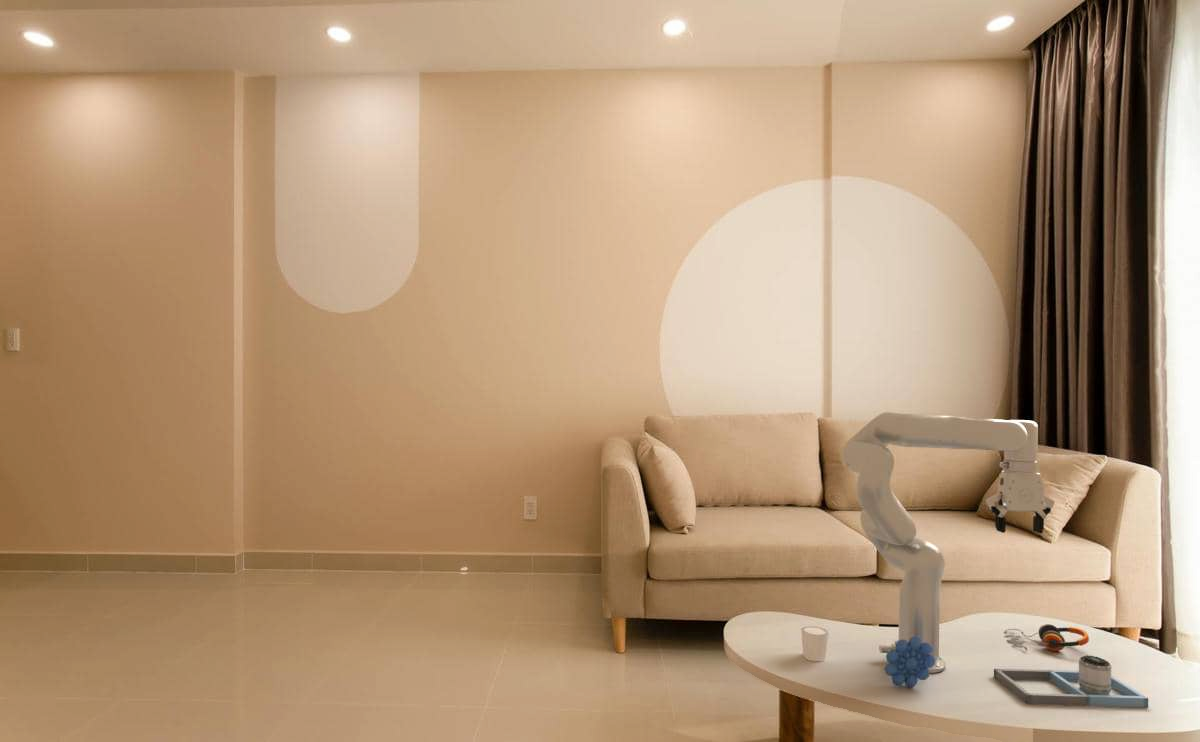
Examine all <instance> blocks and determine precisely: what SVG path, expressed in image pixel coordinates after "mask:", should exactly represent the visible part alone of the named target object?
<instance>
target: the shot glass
mask: <svg viewBox="0 0 1200 742" xmlns="http://www.w3.org/2000/svg"><path fill="white" fill-rule="evenodd" d="M800 630H801V631H800V633H801V642H802V643H801V644H802V654H803V655H802V656H804V657H805V658H806V659H805V658H804V657H803V658H804V659H805V660H807V659H808V660H807V661H809V660H812V661H811V662H813V661H822V662H824V661H823V660H825V659H826V660H827V650H828V643H829V634H830V633H829V630H827V629H826V628H822V627H821V626H820V627H818V626H811V625H810V626H809V625H808V626H803V627H802V628H801V629H800ZM826 660H825V661H826Z"/></svg>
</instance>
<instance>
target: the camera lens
mask: <svg viewBox="0 0 1200 742" xmlns="http://www.w3.org/2000/svg"><path fill="white" fill-rule="evenodd" d="M1078 671H1079V681H1078V686H1079V690H1081V691H1082V692H1084V693H1085V694H1087V695H1088V694H1089V695H1110V694H1111V690H1112V686H1111V676H1112V665H1111V664H1110V662H1109V661H1108V660H1106V659H1103V658H1101V657H1099V656H1094V655H1083V656H1081V657H1079V659H1078Z"/></svg>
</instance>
